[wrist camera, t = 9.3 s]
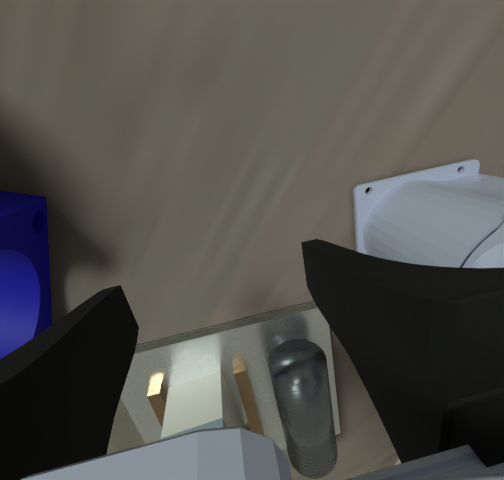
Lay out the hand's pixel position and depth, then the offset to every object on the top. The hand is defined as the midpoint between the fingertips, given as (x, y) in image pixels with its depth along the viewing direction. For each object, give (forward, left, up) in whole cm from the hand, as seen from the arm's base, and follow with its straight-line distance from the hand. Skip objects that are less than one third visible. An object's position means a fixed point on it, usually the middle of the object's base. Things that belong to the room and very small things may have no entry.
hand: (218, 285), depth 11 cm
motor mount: (+2, +17, -9) cm, 20 cm away
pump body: (+5, +17, -8) cm, 19 cm away
